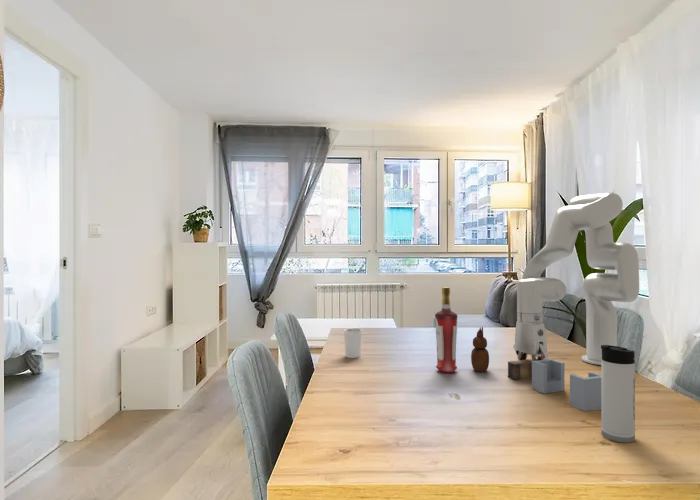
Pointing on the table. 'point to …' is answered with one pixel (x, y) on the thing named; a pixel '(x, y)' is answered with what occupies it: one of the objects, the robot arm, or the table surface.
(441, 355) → the liquor
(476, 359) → the wooden figurine
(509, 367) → the rail
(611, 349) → the travel mug
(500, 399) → the table surface
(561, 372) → the post
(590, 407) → the post
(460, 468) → the table surface
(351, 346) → the drinking glass
